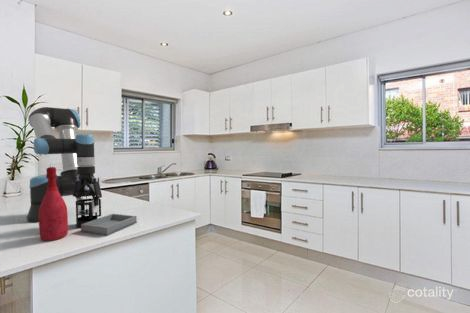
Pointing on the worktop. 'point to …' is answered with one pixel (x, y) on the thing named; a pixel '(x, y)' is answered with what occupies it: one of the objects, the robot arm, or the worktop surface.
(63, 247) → the worktop surface
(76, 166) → the robot arm
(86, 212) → the french press
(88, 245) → the worktop surface
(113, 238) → the worktop surface
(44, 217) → the wine bottle
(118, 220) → the tray
